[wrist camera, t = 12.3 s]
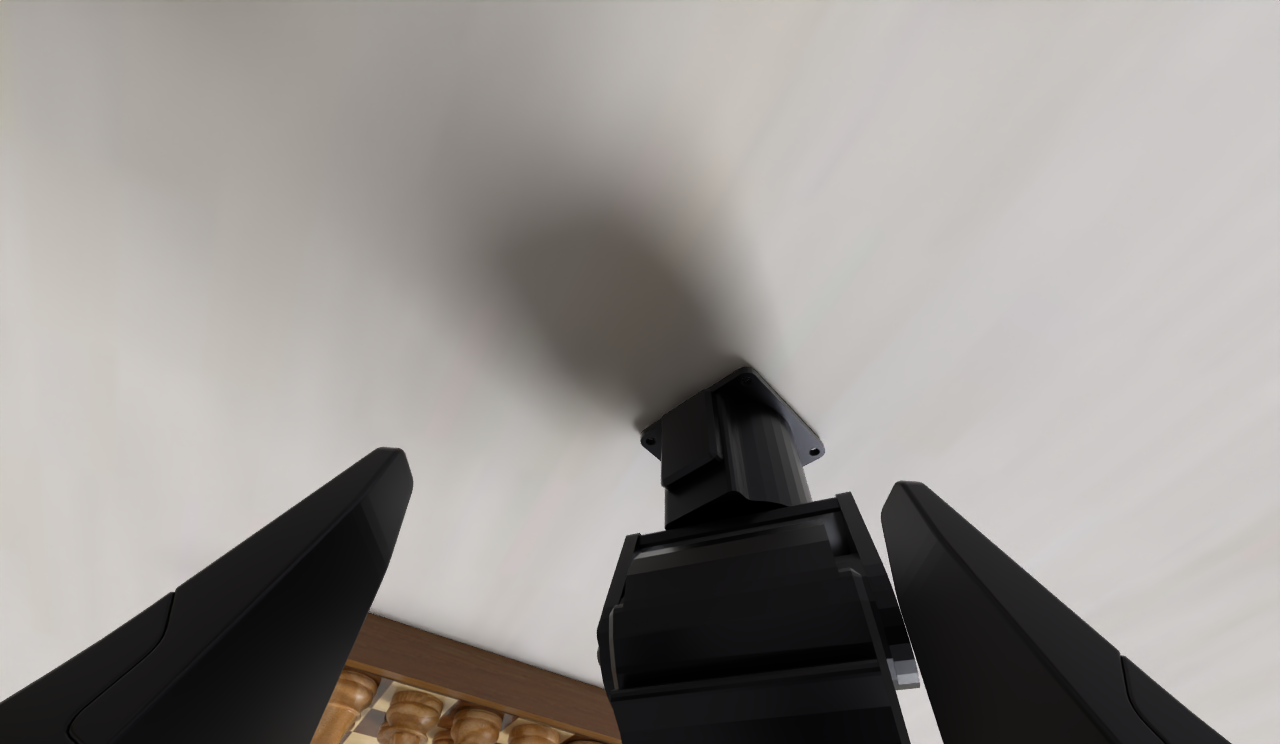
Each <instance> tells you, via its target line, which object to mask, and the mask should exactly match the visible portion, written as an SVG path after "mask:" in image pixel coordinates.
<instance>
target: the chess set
mask: <svg viewBox="0 0 1280 744" xmlns="http://www.w3.org/2000/svg"><path fill="white" fill-rule="evenodd" d="M310 744H622V742H621V736H620V732H619V728H618V725H617V722H616V718H615V715H614V711H613V708H612V707H611V704H610V702H609V700H608V697H607V694H606V691H605V689H602V688H599V687H596V686H593V685H589V684H586V683H583V682H580V681H577V680H574V679H571V678H568V677H565V676H562V675H559V674H556V673H553V672H549V671H546V670H543V669H540V668H537V667H534V666H531V665H528V664H525V663H522V662H519V661H516V660H513V659H509V658H506V657H503V656H500V655H497V654H494V653H491V652H488V651H485V650H482V649H479V648H476V647H473V646H470V645H466V644H463V643H460V642H457V641H454V640H451V639H448V638H445V637H442V636H439V635H436V634H433V633H430V632H426V631H423V630H420V629H417V628H414V627H411V626H408V625H405V624H402V623H399V622H396V621H393V620H390V619H386V618H383V617H380V616H377V615H374V614H371V613H368V614H367V616H366V619H365V621H364V623H363V625H362V628H361V630H360V632H359V634H358V637H357V639H356V641H355V643H354V646H353V648H352V650H351V652H350V655H349V657H348V659H347V661H346V664H345V666H344V668H343V670H342V673H341V675H340V677H339V679H338V682H337V684H336V686H335V689H334V691H333V693H332V695H331V698H330V700H329V702H328V704H327V707H326V709H325V711H324V713H323V716H322V718H321V720H320V722H319V725H318V727H317V729H316V731H315V734H314V736H313V738H312V740H311V743H310Z"/></svg>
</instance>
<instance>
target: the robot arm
mask: <svg viewBox="0 0 1280 744" xmlns="http://www.w3.org/2000/svg"><path fill="white" fill-rule="evenodd" d="M745 377H749V378H750V379H749V380H747V381H742V378H745ZM648 438H654V439H653V440H650V439H648ZM640 441H641V444H642V446H643V447H644V448H646V449H647V450H648V451H649V452H650V453H652V454H653V455H654V456H655V457H657V458H658V459H659V460H660V461H661V485H662V486H663V487H664V488H665V531H660V532H655V533H650V534H645V535H641V534H640V533H637V534H632V535H627V536H626V538H625V541H624V544H623V548H622V551H621V554H620V557H619V560H618V563H617V566H616V570H615V573H614V576H613V579H612V582H611V585H610V588H609V591H608V595H607V598H606V601H605V604H604V607H603V611H602V615H601V618H600V621H599V624H598V628H597V640H598V645H599V647H598V651H597V658H598V663H599V665H600V666H601V672H602V678H603V683H604V687H605V691H606V694H607V697H608V700H609V702H610V704H611V707H612V708H613V711H614V715H615V718H616V722H617V725H618V728H619V732H620V736H621V742H622V744H911V743H910V740H909V736H908V733H907V729H906V726H905V722H904V719H903V715H902V712H901V708H900V705H899V701H898V698H897V694H896V691H895V690H902V689H912V688H920V681H919V675H918V670H917V666H916V662H915V658H914V655H913V651H912V647H913V650H914V653H915V657H916V660H917V663H918V666H919V669H920V672H921V675H922V678H923V681H924V684H925V688H926V691H927V694H928V697H929V700H930V703H931V706H932V709H933V712H934V715H935V718H936V722H937V725H938V728H939V731H940V734H941V737H942V740H943V743H944V744H1231V743H1230V742H1229V741H1228V740H1226V739H1225V738H1224V737H1223V736H1221V735H1220V734H1219V733H1218V732H1216V731H1215V730H1214V729H1212V728H1211V727H1210V726H1209V725H1207V724H1206V723H1205V722H1204V721H1202V720H1201V719H1200V718H1199V717H1197V716H1196V715H1195V714H1193V713H1192V712H1191V711H1190V710H1189V709H1187V708H1186V707H1185V706H1184V705H1183V704H1181V703H1180V702H1179V701H1178V700H1177V699H1175V698H1174V697H1173V696H1172V695H1171V694H1169V693H1168V692H1167V691H1166V690H1165V689H1163V688H1162V687H1161V686H1160V685H1159V684H1157V683H1156V682H1155V681H1154V680H1153V679H1151V678H1150V677H1149V676H1148V675H1147V674H1146V673H1144V672H1143V671H1142V670H1141V669H1140V668H1139V667H1137V666H1136V665H1135V664H1134V663H1133V662H1132V661H1130V660H1129V659H1128V658H1127V657H1126V656H1123V655H1120V652H1119V651H1118V650H1117V649H1116V648H1115V647H1114V646H1113V645H1112V644H1110V643H1109V642H1108V641H1107V640H1106V639H1105V638H1103V637H1102V636H1101V635H1100V634H1099V633H1098V632H1096V631H1095V630H1094V629H1093V628H1092V627H1091V626H1089V625H1088V624H1087V623H1086V622H1085V621H1084V620H1082V619H1081V618H1080V617H1079V616H1078V615H1077V614H1075V613H1074V612H1073V611H1072V610H1071V609H1070V608H1068V607H1067V606H1066V605H1065V604H1064V603H1062V602H1061V601H1060V600H1059V599H1058V598H1057V597H1055V596H1054V595H1053V594H1052V593H1051V592H1050V591H1048V590H1047V589H1046V588H1045V587H1044V586H1043V585H1041V584H1040V583H1039V582H1038V581H1037V580H1036V579H1034V578H1033V577H1032V576H1031V575H1030V574H1029V573H1027V572H1026V571H1025V570H1024V569H1023V568H1022V567H1020V566H1019V565H1018V564H1017V563H1016V562H1015V561H1013V560H1012V559H1011V558H1010V557H1009V556H1008V555H1006V554H1005V553H1004V552H1003V551H1002V550H1001V549H999V548H998V547H997V546H996V545H995V544H994V543H992V542H991V541H990V540H989V539H988V538H987V537H985V536H984V535H983V534H982V533H981V532H980V531H978V530H977V529H976V528H975V527H974V526H973V525H971V524H970V523H969V522H968V521H967V520H966V519H964V518H963V517H962V516H961V515H960V514H959V513H957V512H956V511H955V510H954V509H953V508H952V507H950V506H949V505H948V504H947V503H946V502H945V501H943V500H942V499H941V498H940V497H939V496H938V495H936V494H935V493H934V492H933V491H932V490H931V489H929V488H928V487H927V486H926V485H924V484H923V483H921V482H915V481H898V482H897V483H895V485H894V486H893V488H892V490H891V492H890V494H889V496H888V498H887V500H886V502H885V504H884V506H883V509H882V512H881V523H882V528H883V533H884V538H885V542H886V547H887V552H888V557H889V562H890V567H891V572H892V576H893V581H894V586H895V591H896V595H897V599H898V603H899V606H900V609H899V606H898V603H897V600H896V597H895V594H894V591H893V589H892V586H891V583H890V581H889V578H888V575H887V573H886V571H885V568H884V566H883V563H882V561H881V559H880V557H879V554H878V552H877V550H876V548H875V545H874V543H873V541H872V539H871V536H870V534H869V532H868V530H867V527H866V525H865V523H864V521H863V518H862V516H861V514H860V512H859V509H858V507H857V505H856V503H855V500H854V498H853V496H852V494H851V492H846V493H841V494H836V497H834V498H829V499H824V500H819V501H814V502H812V498H811V495H810V491H809V488H808V484H807V481H806V477H805V474H804V470H803V466H805V465H807V464H809V463H811V462H813V461H815V460H817V459H819V458H820V457H822V456H823V455H824V453H825V448H824V445H823V443H822V441H821V440H820V439H819V438H818V437H817V436H816V435H815V434H814V433H813V432H812V431H811V430H810V429H809V427H808V426H807V425H806V424H805V423H804V422H803V421H802V420H801V419H800V418H799V417H798V416H797V415H796V414H795V413H794V411H793V410H792V409H791V408H790V407H789V406H788V405H787V404H786V403H785V402H784V401H783V400H782V399H781V398H780V397H779V396H778V394H777V393H776V392H775V391H774V390H773V389H772V388H771V387H770V386H769V385H768V384H767V383H766V382H765V381H764V380H763V379H762V377H761V376H760V375H759V374H758V373H757V372H756V371H755V370H754V369H752V368H749V367H743V368H740V369H738V370H737V371H735V372H733V373H732V374H730V375H729V376H727V377H726V378H724V379H723V380H721V381H719V382H718V383H716V384H715V385H713V386H712V387H710V388H709V389H707V390H703V391H701V392H700V393H698V394H696V395H695V396H693V397H692V398H690V399H689V400H687V401H686V402H684V403H682V404H681V405H679V406H678V407H676V408H675V409H673V410H672V411H670V412H669V413H667V414H665V415H664V416H663V417H662V419H660V420H659V421H657V422H656V423H654V424H653V425H651V426H649V427H648V428H646V429H645V430H644V431H643V432H642V433H641V440H640ZM813 448H816V449H814V450H811V449H813ZM412 490H413V477H412V474H411V470H410V467H409V464H408V461H407V458H406V454H405V452H404V451H403V450H402V449H400V448H390V447H380V448H377V449H375V450H374V451H372V452H371V453H369V454H368V455H366V456H365V457H364V458H362V459H361V460H359V461H358V462H356V463H355V464H354V465H352V466H351V467H349V468H348V469H346V470H345V471H344V472H342V473H341V474H339V475H338V476H336V477H335V478H334V479H332V480H331V481H329V482H328V483H326V484H325V485H323V486H322V487H321V488H319V489H318V490H316V491H315V492H313V493H312V494H311V495H309V496H308V497H306V498H305V499H303V500H302V501H301V502H299V503H298V504H296V505H295V506H293V507H292V508H290V509H289V510H288V511H286V512H285V513H283V514H282V515H280V516H279V517H278V518H276V519H275V520H273V521H272V522H270V523H269V524H268V525H266V526H265V527H263V528H262V529H260V530H259V531H258V532H256V533H255V534H253V535H252V536H250V537H249V538H247V539H246V540H245V541H243V542H242V543H240V544H239V545H237V546H236V547H235V548H233V549H232V550H230V551H229V552H227V553H226V554H225V555H223V556H222V557H220V558H219V559H217V560H216V561H214V562H213V563H212V564H210V565H209V566H207V567H206V568H204V569H203V570H202V571H200V572H199V573H197V574H196V575H194V576H193V577H192V578H190V579H189V580H187V581H186V582H184V583H183V584H182V585H180V586H179V587H177V588H176V590H175V592H170V593H168V594H167V595H165V596H164V597H163V598H161V599H160V600H158V601H157V602H155V603H154V604H153V605H151V606H150V607H148V608H147V609H145V610H144V611H142V612H141V613H140V614H138V615H137V616H135V617H134V618H132V619H131V620H129V621H128V622H126V623H125V624H123V625H122V626H120V627H119V628H117V629H116V630H114V631H113V632H111V633H110V634H108V635H107V636H105V637H104V638H102V639H101V640H99V641H98V642H96V643H95V644H93V645H92V646H90V647H88V648H87V649H85V650H84V651H82V652H81V653H79V654H77V655H76V656H74V657H73V658H71V659H70V660H68V661H66V662H65V663H63V664H62V665H60V666H59V667H57V668H55V669H54V670H52V671H51V672H49V673H47V674H46V675H44V676H43V677H41V678H39V679H38V680H36V681H34V682H33V683H31V684H30V685H28V686H26V687H25V688H23V689H22V690H20V691H18V692H17V693H15V694H13V695H12V696H10V697H9V698H7V699H5V700H4V701H2V702H0V744H310V743H311V740H312V738H313V736H314V734H315V731H316V729H317V727H318V725H319V722H320V720H321V718H322V716H323V713H324V711H325V709H326V707H327V704H328V702H329V700H330V698H331V695H332V693H333V691H334V689H335V686H336V684H337V682H338V679H339V677H340V675H341V673H342V670H343V668H344V666H345V664H346V661H347V659H348V657H349V655H350V652H351V650H352V648H353V646H354V643H355V641H356V639H357V637H358V634H359V632H360V630H361V628H362V625H363V623H364V621H365V619H366V616H367V614H368V612H369V610H370V607H371V605H372V603H373V601H374V598H375V596H376V594H377V591H378V589H379V587H380V585H381V582H382V580H383V578H384V575H385V573H386V570H387V568H388V565H389V562H390V559H391V557H392V554H393V550H394V547H395V544H396V541H397V538H398V535H399V531H400V528H401V525H402V522H403V519H404V516H405V513H406V509H407V506H408V503H409V500H410V497H411V494H412ZM900 610H901V612H900ZM901 613H902V615H901ZM902 616H903V618H902ZM903 619H904V621H903ZM904 623H905V624H904ZM905 626H906V627H905ZM906 629H907V631H906ZM907 632H908V634H907ZM908 635H909V637H908ZM909 638H910V640H909ZM910 641H911V644H912V647H911V644H910Z"/></svg>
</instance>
